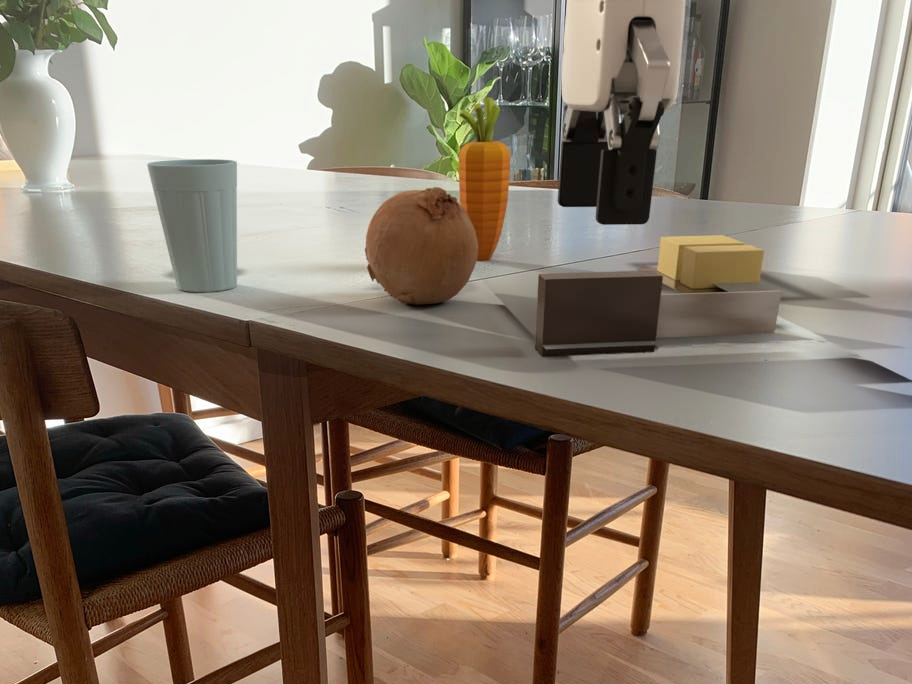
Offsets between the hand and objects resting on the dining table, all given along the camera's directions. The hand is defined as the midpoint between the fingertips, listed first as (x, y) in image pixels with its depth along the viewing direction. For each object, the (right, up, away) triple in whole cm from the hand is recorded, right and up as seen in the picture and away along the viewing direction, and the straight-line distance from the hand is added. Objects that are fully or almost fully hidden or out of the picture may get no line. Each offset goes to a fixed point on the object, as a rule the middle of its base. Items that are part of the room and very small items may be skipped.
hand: (599, 214), depth 62 cm
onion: (-12, +1, +20) cm, 23 cm away
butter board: (+14, +3, +22) cm, 26 cm away
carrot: (-6, +10, +34) cm, 36 cm away
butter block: (+14, +6, +25) cm, 29 cm away
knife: (+5, -7, +5) cm, 10 cm away
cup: (-32, +5, +27) cm, 42 cm away
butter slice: (+14, +3, +21) cm, 26 cm away
